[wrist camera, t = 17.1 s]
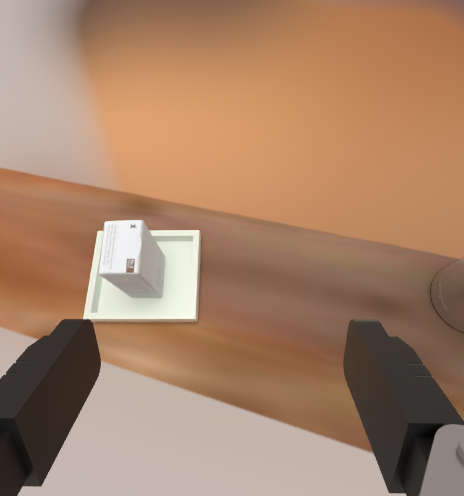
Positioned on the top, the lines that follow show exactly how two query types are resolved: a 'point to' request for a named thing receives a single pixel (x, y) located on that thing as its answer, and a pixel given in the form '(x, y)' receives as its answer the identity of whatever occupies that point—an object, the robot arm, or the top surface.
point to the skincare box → (132, 259)
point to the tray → (174, 286)
